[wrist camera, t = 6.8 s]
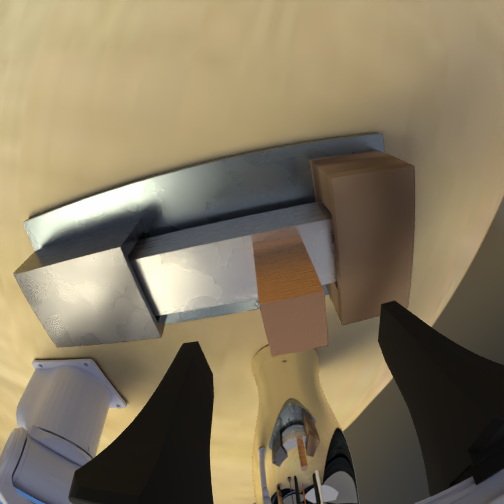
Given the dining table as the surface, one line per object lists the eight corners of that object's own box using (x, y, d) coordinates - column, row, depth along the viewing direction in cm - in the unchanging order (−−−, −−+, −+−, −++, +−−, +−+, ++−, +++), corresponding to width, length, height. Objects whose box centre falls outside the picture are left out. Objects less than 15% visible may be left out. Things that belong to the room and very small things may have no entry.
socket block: (324, 283, 22) (342, 325, 18) (309, 159, 18) (331, 178, 13) (381, 270, 21) (407, 307, 17) (377, 150, 17) (414, 166, 13)
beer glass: (275, 324, 24) (303, 507, 11) (337, 350, 26) (385, 501, 13) (232, 372, 27) (235, 528, 14) (292, 392, 29) (315, 528, 16)
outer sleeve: (83, 329, 24) (63, 368, 20) (28, 218, 19) (-9, 248, 14) (382, 274, 23) (410, 313, 18) (377, 132, 18) (417, 144, 13)
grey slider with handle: (139, 294, 21) (105, 381, 14) (117, 245, 19) (65, 324, 12) (366, 249, 20) (421, 326, 13) (363, 193, 18) (431, 253, 11)
